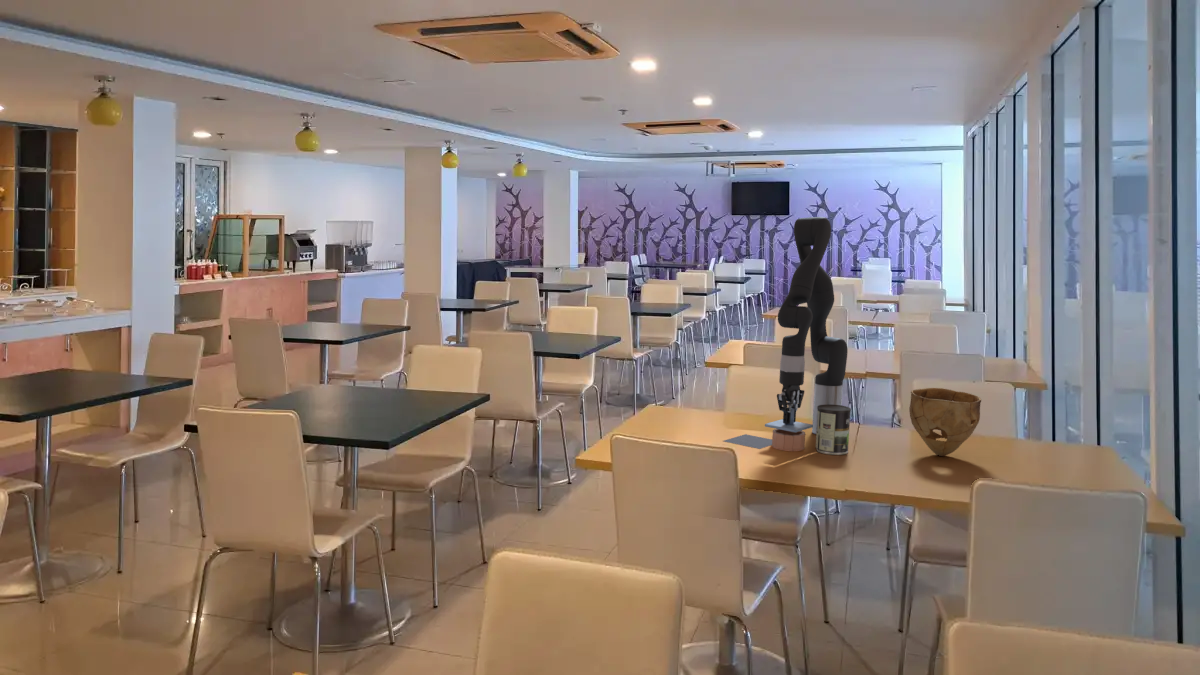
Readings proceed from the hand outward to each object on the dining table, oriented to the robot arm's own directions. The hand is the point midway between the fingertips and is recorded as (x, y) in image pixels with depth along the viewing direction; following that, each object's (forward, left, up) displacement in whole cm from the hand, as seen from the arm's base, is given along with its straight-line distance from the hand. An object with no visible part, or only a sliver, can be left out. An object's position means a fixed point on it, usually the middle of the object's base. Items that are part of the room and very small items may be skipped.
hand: (789, 422), depth 296 cm
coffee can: (-8, +11, -9) cm, 16 cm away
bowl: (-28, +38, -9) cm, 48 cm away
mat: (+2, -12, -9) cm, 15 cm away
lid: (0, 0, -1) cm, 1 cm away
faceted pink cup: (0, 0, -9) cm, 9 cm away
